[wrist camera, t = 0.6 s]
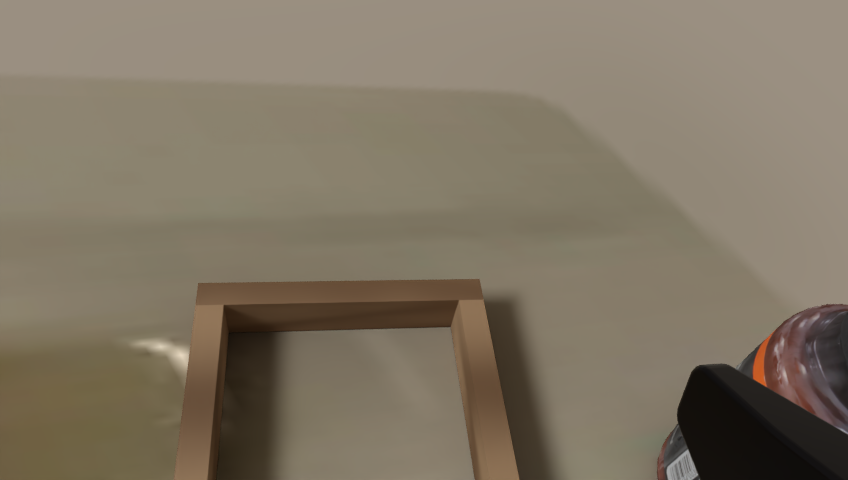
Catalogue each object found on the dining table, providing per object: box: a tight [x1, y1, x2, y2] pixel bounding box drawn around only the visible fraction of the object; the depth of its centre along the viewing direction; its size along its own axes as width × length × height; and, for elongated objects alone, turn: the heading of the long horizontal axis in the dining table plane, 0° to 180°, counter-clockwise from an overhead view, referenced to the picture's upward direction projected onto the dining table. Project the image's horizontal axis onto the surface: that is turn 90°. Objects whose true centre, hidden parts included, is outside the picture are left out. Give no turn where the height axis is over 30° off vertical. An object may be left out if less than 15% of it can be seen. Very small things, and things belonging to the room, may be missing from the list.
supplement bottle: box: [657, 304, 848, 480], centre depth 20 cm, size 6×6×11 cm
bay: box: [174, 279, 519, 480], centre depth 24 cm, size 10×11×2 cm
